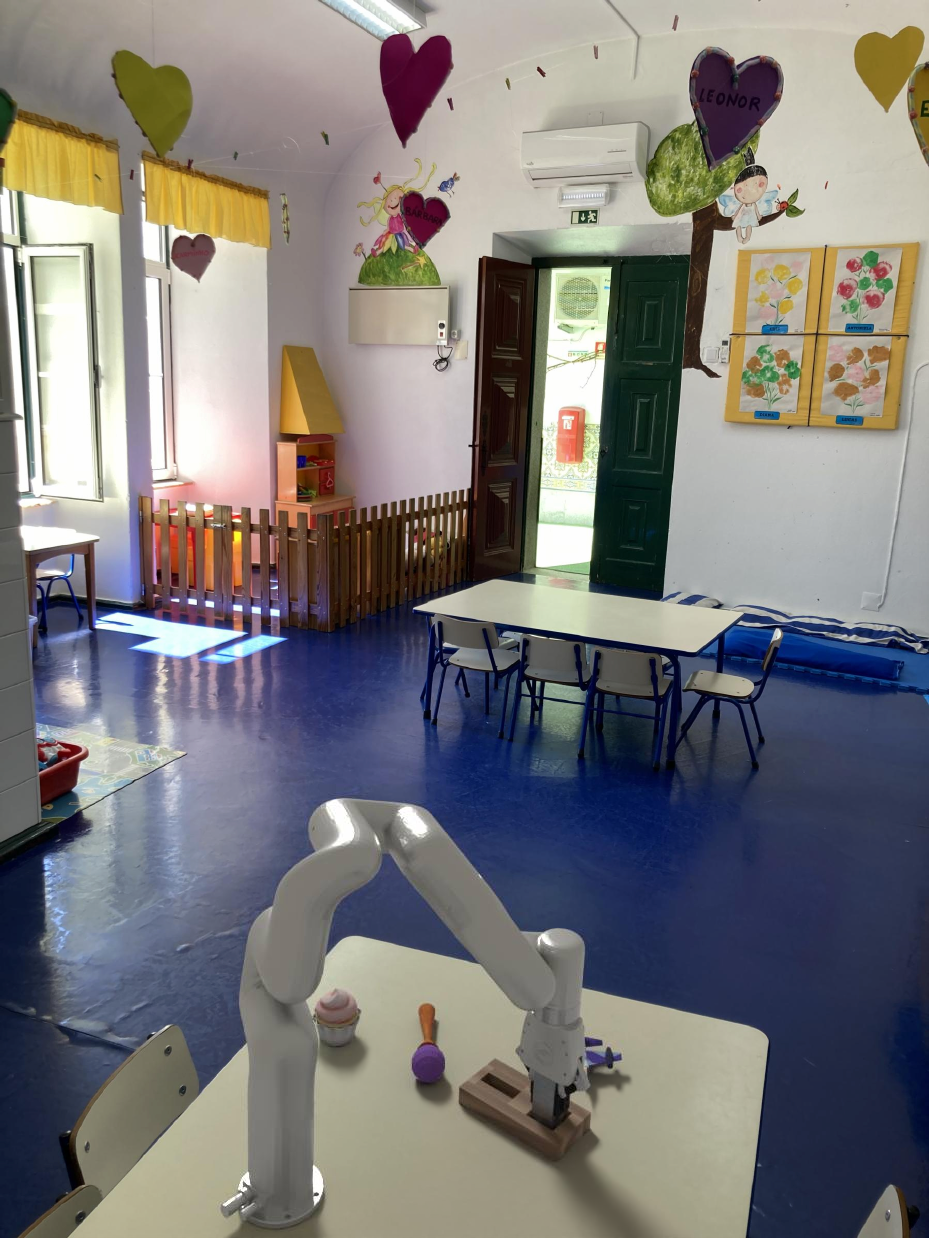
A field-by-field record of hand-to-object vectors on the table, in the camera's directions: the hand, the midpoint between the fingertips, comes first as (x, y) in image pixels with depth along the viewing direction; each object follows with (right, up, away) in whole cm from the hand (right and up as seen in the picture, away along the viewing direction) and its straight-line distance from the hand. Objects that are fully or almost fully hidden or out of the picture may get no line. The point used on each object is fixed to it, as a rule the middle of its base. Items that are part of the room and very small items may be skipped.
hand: (549, 1104), depth 159 cm
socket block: (-4, -4, +4) cm, 7 cm away
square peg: (0, -3, +1) cm, 3 cm away
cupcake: (-38, +2, +22) cm, 44 cm away
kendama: (-21, 0, +19) cm, 28 cm away
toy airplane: (+7, -2, +15) cm, 17 cm away
